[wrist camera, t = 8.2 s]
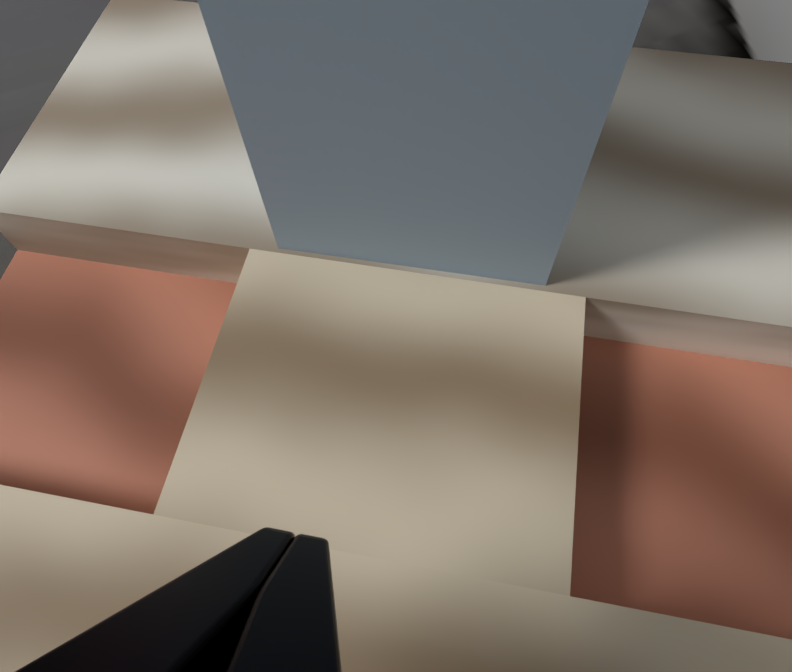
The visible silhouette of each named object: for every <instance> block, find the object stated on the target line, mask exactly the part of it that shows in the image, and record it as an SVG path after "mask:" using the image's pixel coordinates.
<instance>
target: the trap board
mask: <svg viewBox="0 0 792 672" xmlns="http://www.w3.org/2000/svg"><path fill="white" fill-rule="evenodd" d="M0 232H1V233H2V234H3V235H4V236H5V237H6V238H7V239H8V240H9V242H10V243H11V244H12V245H13V246H14V247H15V248H16V249H17V252H16V254H15V255H14V257H13V259H12V261H11V262H10V264H9V266H8V268H7V269H6V271H5V273H4V275H3V276H2V278H1V280H0V672H15V671H17V670H18V669H20V668H22V667H24V666H25V665H27V664H29V663H30V662H32V661H34V660H36V659H37V658H39V657H41V656H43V655H44V654H46V653H48V652H49V651H51V650H53V649H55V648H56V647H58V646H60V645H62V644H63V643H65V642H67V641H68V640H70V639H72V638H74V637H75V636H77V635H79V634H80V633H82V632H84V631H86V630H87V629H89V628H91V627H93V626H94V625H96V624H98V623H99V622H101V621H103V620H105V619H106V618H108V617H110V616H112V615H113V614H115V613H117V612H118V611H120V610H122V609H124V608H125V607H127V606H129V605H131V604H132V603H134V602H136V601H137V600H139V599H141V598H143V597H144V596H146V595H148V594H149V593H151V592H153V591H155V590H156V589H158V588H160V587H162V586H163V585H165V584H167V583H168V582H170V581H172V580H174V579H175V578H177V577H179V576H181V575H182V574H184V573H186V572H187V571H189V570H191V569H193V568H194V567H196V566H198V565H200V564H201V563H203V562H205V561H206V560H208V559H210V558H212V557H213V556H215V555H217V554H218V553H220V552H222V551H224V550H225V549H227V548H229V547H231V546H232V545H234V544H236V543H237V542H239V541H241V540H243V539H244V538H246V537H248V536H250V535H251V534H253V533H255V532H256V531H258V530H260V529H262V528H265V527H270V528H275V529H280V530H285V531H290V532H293V533H294V534H295V536H297V535H299V534H305V535H311V536H316V537H321V538H325V539H326V540H328V542H329V550H330V560H331V570H332V580H333V590H334V599H335V609H336V619H337V629H338V639H339V648H340V658H341V668H342V672H792V63H783V62H772V61H763V60H754V59H744V58H734V57H724V56H714V55H705V54H695V53H685V52H675V51H665V50H656V49H646V48H636V47H632V48H631V51H630V54H629V57H628V59H627V62H626V65H625V68H624V70H623V73H622V76H621V79H620V81H619V84H618V87H617V90H616V93H615V95H614V98H613V101H612V104H611V106H610V109H609V112H608V115H607V117H606V120H605V123H604V126H603V128H602V131H601V134H600V137H599V139H598V142H597V145H596V148H595V150H594V153H593V156H592V159H591V161H590V164H589V167H588V170H587V172H586V175H585V178H584V181H583V184H582V186H581V189H580V192H579V195H578V197H577V200H576V203H575V206H574V208H573V211H572V214H571V217H570V219H569V222H568V225H567V228H566V230H565V233H564V236H563V239H562V241H561V244H560V247H559V250H558V252H557V255H556V258H555V261H554V263H553V266H552V269H551V272H550V275H549V277H548V280H547V283H546V286H544V285H536V284H529V283H522V282H515V281H508V280H501V279H494V278H487V277H480V276H472V275H465V274H458V273H451V272H444V271H437V270H430V269H423V268H416V267H408V266H401V265H394V264H387V263H380V262H373V261H366V260H359V259H352V258H344V257H337V256H330V255H323V254H316V253H309V252H302V251H295V250H288V249H280V248H278V246H277V243H276V240H275V237H274V234H273V231H272V228H271V225H270V222H269V219H268V216H267V213H266V210H265V206H264V203H263V200H262V197H261V194H260V191H259V188H258V185H257V182H256V179H255V176H254V173H253V170H252V167H251V163H250V160H249V157H248V154H247V151H246V148H245V145H244V142H243V139H242V136H241V133H240V130H239V127H238V124H237V120H236V117H235V114H234V111H233V108H232V105H231V102H230V99H229V96H228V93H227V90H226V87H225V84H224V81H223V77H222V74H221V71H220V68H219V65H218V62H217V59H216V56H215V53H214V50H213V47H212V44H211V41H210V38H209V34H208V31H207V28H206V25H205V22H204V19H203V16H202V13H201V10H200V7H199V4H198V3H195V2H185V1H175V0H110V2H109V3H108V5H107V7H106V8H105V10H104V11H103V13H102V14H101V16H100V18H99V19H98V21H97V22H96V24H95V26H94V27H93V29H92V30H91V32H90V33H89V35H88V37H87V38H86V40H85V41H84V43H83V44H82V46H81V48H80V49H79V51H78V52H77V54H76V56H75V57H74V59H73V60H72V62H71V63H70V65H69V67H68V68H67V70H66V71H65V73H64V74H63V76H62V78H61V79H60V81H59V82H58V84H57V86H56V87H55V89H54V90H53V92H52V93H51V95H50V97H49V98H48V100H47V101H46V103H45V104H44V106H43V108H42V109H41V111H40V112H39V114H38V116H37V117H36V119H35V120H34V122H33V123H32V125H31V127H30V128H29V130H28V131H27V133H26V134H25V136H24V138H23V139H22V141H21V142H20V144H19V146H18V147H17V149H16V150H15V152H14V153H13V155H12V157H11V158H10V160H9V161H8V163H7V164H6V166H5V168H4V169H3V171H2V172H1V174H0Z"/></svg>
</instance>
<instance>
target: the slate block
mask: <svg viewBox="0 0 792 672" xmlns="http://www.w3.org/2000/svg"><path fill="white" fill-rule="evenodd" d="M197 1H198V4H199V7H200V10H201V13H202V16H203V19H204V22H205V25H206V28H207V31H208V34H209V38H210V41H211V44H212V47H213V50H214V53H215V56H216V59H217V62H218V65H219V68H220V71H221V74H222V77H223V81H224V84H225V87H226V90H227V93H228V96H229V99H230V102H231V105H232V108H233V111H234V114H235V117H236V120H237V124H238V127H239V130H240V133H241V136H242V139H243V142H244V145H245V148H246V151H247V154H248V157H249V160H250V163H251V167H252V170H253V173H254V176H255V179H256V182H257V185H258V188H259V191H260V194H261V197H262V200H263V203H264V206H265V210H266V213H267V216H268V219H269V222H270V225H271V228H272V231H273V234H274V237H275V240H276V243H277V246H278V248H280V249H288V250H295V251H302V252H309V253H316V254H323V255H330V256H337V257H344V258H352V259H359V260H366V261H373V262H380V263H387V264H394V265H401V266H408V267H416V268H423V269H430V270H437V271H444V272H451V273H458V274H465V275H472V276H480V277H487V278H494V279H501V280H508V281H515V282H522V283H529V284H536V285H544V286H546V283H547V280H548V277H549V275H550V272H551V269H552V266H553V263H554V261H555V258H556V255H557V252H558V250H559V247H560V244H561V241H562V239H563V236H564V233H565V230H566V228H567V225H568V222H569V219H570V217H571V214H572V211H573V208H574V206H575V203H576V200H577V197H578V195H579V192H580V189H581V186H582V184H583V181H584V178H585V175H586V172H587V170H588V167H589V164H590V161H591V159H592V156H593V153H594V150H595V148H596V145H597V142H598V139H599V137H600V134H601V131H602V128H603V126H604V123H605V120H606V117H607V115H608V112H609V109H610V106H611V104H612V101H613V98H614V95H615V93H616V90H617V87H618V84H619V81H620V79H621V76H622V73H623V70H624V68H625V65H626V62H627V59H628V57H629V54H630V51H631V48H632V46H633V43H634V40H635V37H636V35H637V32H638V29H639V26H640V24H641V21H642V18H643V15H644V13H645V10H646V7H647V4H648V2H649V0H197Z"/></svg>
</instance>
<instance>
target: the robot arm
mask: <svg viewBox="0 0 792 672" xmlns="http://www.w3.org/2000/svg"><path fill="white" fill-rule="evenodd" d="M15 672H342V668H341V658H340V648H339V639H338V629H337V619H336V609H335V599H334V590H333V580H332V570H331V560H330V550H329V542H328V540H326V539H325V538H321V537H316V536H311V535H305V534H299V535H297V536H295V534H294V533H293V532H290V531H285V530H280V529H275V528H270V527H265V528H262V529H260V530H258V531H256V532H255V533H253V534H251V535H250V536H248V537H246V538H244V539H243V540H241V541H239V542H237V543H236V544H234V545H232V546H231V547H229V548H227V549H225V550H224V551H222V552H220V553H218V554H217V555H215V556H213V557H212V558H210V559H208V560H206V561H205V562H203V563H201V564H200V565H198V566H196V567H194V568H193V569H191V570H189V571H187V572H186V573H184V574H182V575H181V576H179V577H177V578H175V579H174V580H172V581H170V582H168V583H167V584H165V585H163V586H162V587H160V588H158V589H156V590H155V591H153V592H151V593H149V594H148V595H146V596H144V597H143V598H141V599H139V600H137V601H136V602H134V603H132V604H131V605H129V606H127V607H125V608H124V609H122V610H120V611H118V612H117V613H115V614H113V615H112V616H110V617H108V618H106V619H105V620H103V621H101V622H99V623H98V624H96V625H94V626H93V627H91V628H89V629H87V630H86V631H84V632H82V633H80V634H79V635H77V636H75V637H74V638H72V639H70V640H68V641H67V642H65V643H63V644H62V645H60V646H58V647H56V648H55V649H53V650H51V651H49V652H48V653H46V654H44V655H43V656H41V657H39V658H37V659H36V660H34V661H32V662H30V663H29V664H27V665H25V666H24V667H22V668H20V669H18V670H17V671H15Z"/></svg>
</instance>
